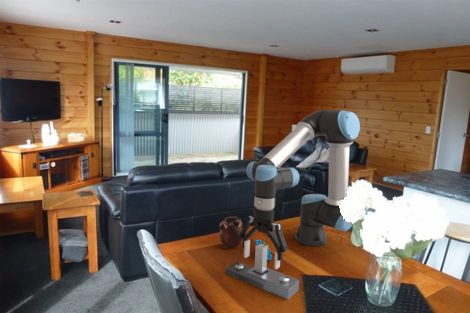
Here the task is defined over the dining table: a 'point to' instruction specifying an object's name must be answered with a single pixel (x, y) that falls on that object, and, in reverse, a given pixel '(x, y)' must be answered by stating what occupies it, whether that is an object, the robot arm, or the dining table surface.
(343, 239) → the dining table surface
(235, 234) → the alarm clock
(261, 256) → the steel pin
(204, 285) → the dining table surface
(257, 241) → the blue bumpy figurine
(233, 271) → the grey studded bar
